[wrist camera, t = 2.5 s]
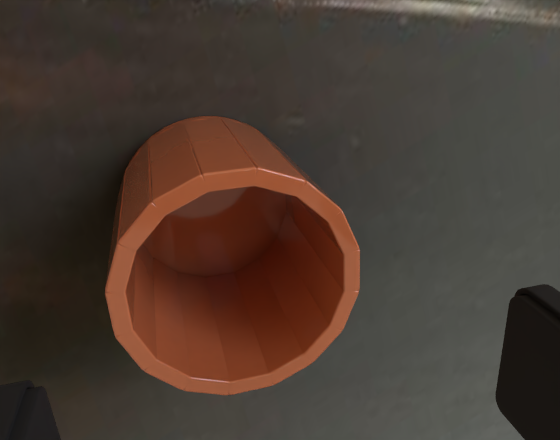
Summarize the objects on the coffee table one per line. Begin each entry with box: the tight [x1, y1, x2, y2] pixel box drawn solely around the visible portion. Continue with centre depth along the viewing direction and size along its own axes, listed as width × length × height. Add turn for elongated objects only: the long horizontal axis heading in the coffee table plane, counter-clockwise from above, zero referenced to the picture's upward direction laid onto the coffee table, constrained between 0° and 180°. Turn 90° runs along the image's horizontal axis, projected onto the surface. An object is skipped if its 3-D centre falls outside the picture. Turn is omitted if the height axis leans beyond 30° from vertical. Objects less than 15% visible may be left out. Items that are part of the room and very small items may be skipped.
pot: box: [105, 116, 360, 395], centre depth 16 cm, size 7×7×7 cm
